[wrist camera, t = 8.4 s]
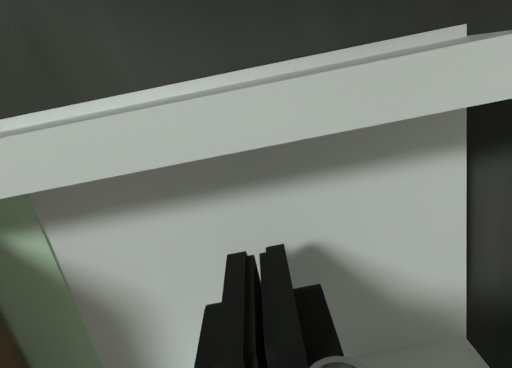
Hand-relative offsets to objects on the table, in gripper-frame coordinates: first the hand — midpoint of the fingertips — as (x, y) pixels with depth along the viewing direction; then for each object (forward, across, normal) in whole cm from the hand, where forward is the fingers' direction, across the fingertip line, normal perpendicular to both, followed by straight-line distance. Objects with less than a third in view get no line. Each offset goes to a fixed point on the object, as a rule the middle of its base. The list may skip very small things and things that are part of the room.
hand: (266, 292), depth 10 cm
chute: (+2, +4, 0) cm, 4 cm away
